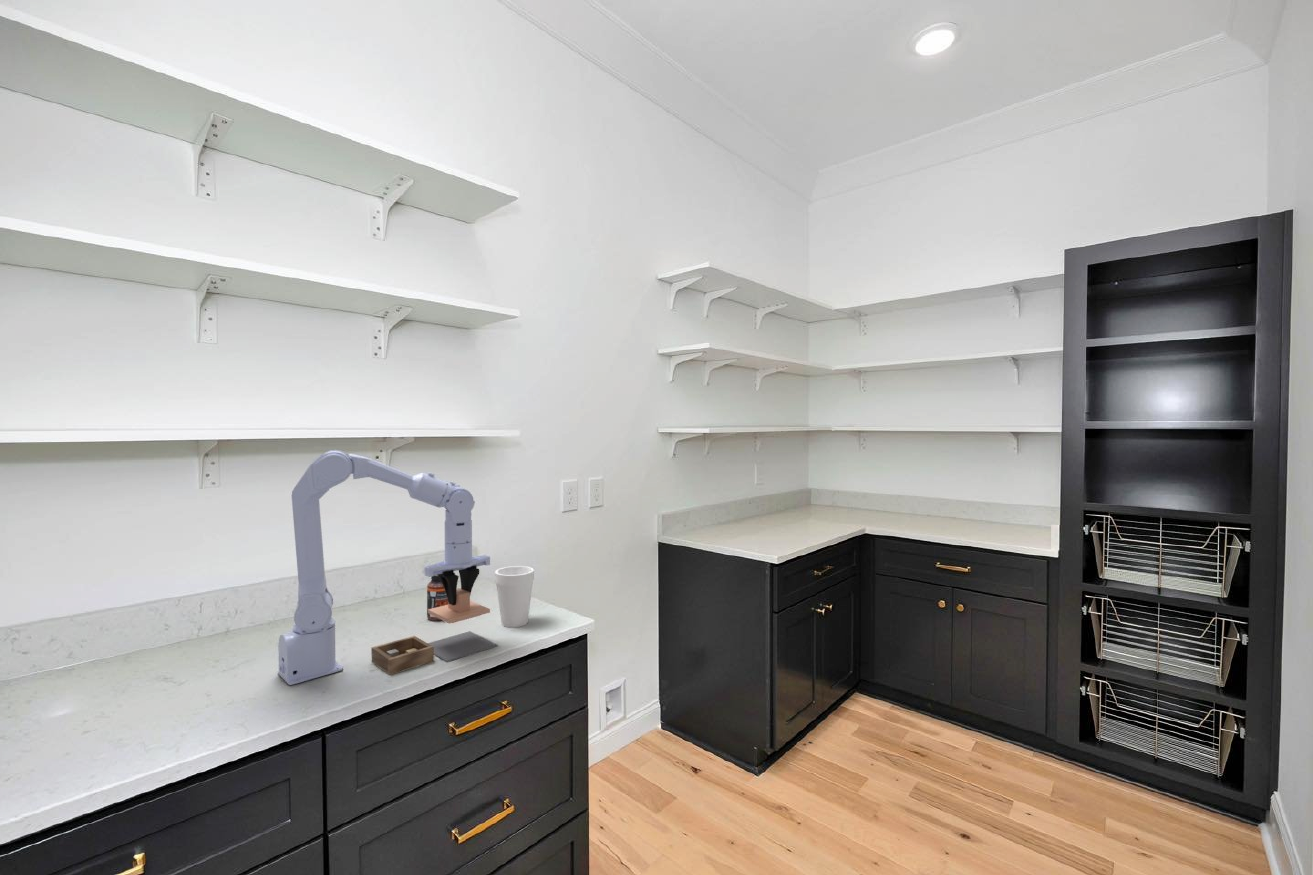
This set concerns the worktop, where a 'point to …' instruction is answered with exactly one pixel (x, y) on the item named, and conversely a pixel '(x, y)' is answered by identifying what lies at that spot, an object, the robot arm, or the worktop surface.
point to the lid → (459, 609)
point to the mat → (460, 646)
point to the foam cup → (514, 594)
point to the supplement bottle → (435, 596)
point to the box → (402, 654)
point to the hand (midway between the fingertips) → (458, 602)
